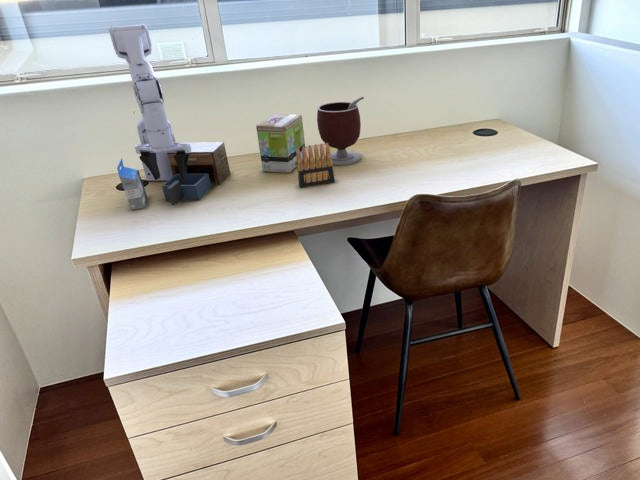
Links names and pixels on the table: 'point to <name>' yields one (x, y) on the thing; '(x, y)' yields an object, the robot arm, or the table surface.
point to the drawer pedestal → (205, 160)
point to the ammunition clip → (314, 167)
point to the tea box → (280, 142)
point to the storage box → (186, 187)
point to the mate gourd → (340, 129)
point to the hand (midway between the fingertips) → (171, 178)
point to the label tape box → (132, 186)
